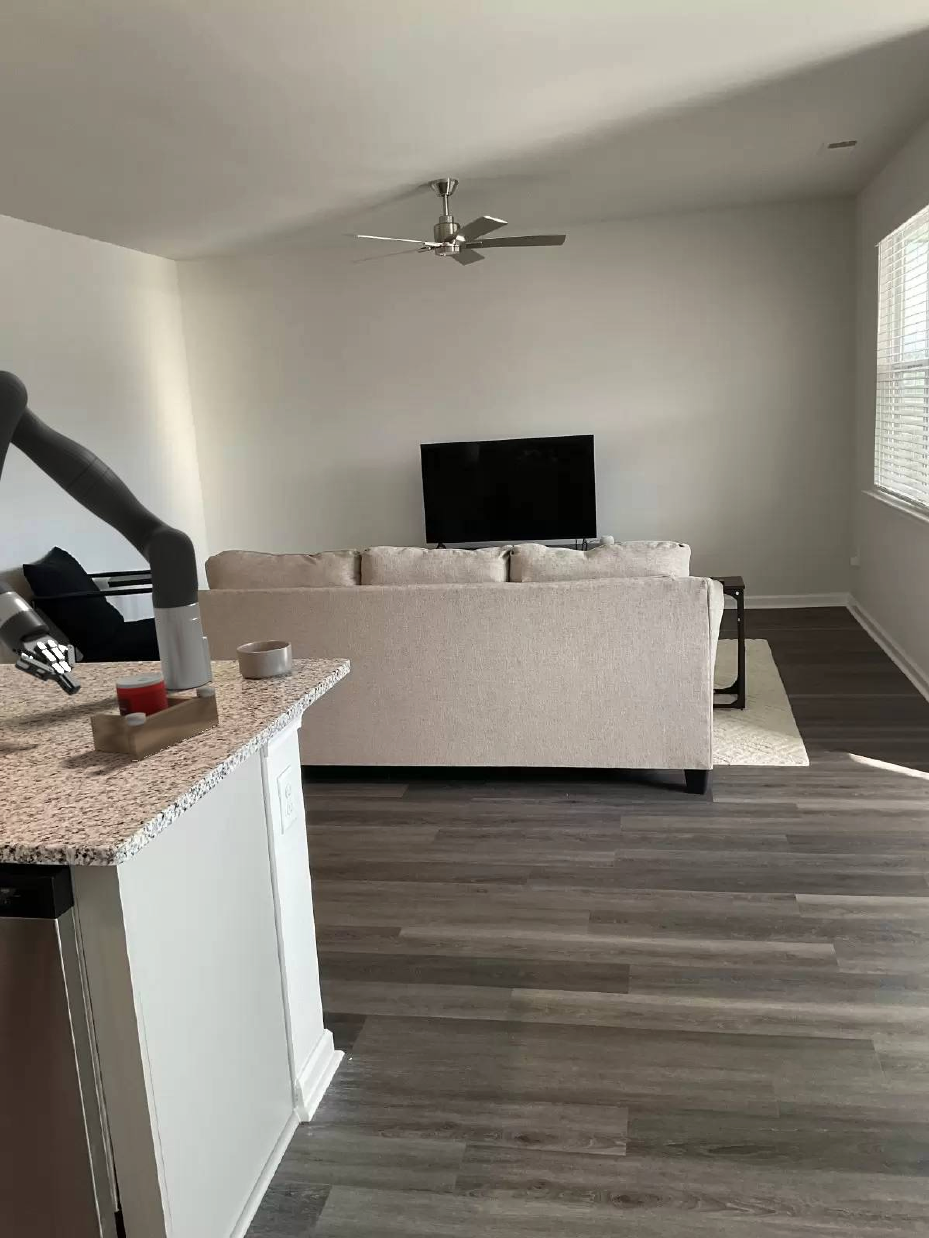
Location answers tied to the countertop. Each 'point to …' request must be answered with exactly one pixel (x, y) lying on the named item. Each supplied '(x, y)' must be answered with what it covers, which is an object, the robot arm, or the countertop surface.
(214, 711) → the bracket
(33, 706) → the countertop surface
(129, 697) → the canned food
